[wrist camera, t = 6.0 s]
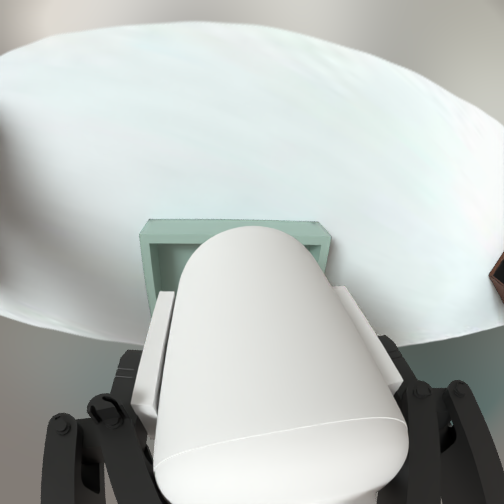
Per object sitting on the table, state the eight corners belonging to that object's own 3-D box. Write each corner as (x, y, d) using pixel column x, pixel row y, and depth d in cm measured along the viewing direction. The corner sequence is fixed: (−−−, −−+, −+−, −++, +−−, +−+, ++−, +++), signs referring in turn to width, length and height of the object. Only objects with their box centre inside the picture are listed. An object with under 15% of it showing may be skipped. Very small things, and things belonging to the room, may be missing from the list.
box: (162, 325, 38) (157, 347, 34) (149, 219, 31) (139, 234, 27) (300, 324, 40) (307, 345, 36) (318, 221, 33) (331, 236, 29)
